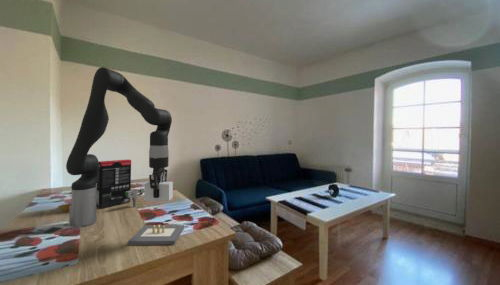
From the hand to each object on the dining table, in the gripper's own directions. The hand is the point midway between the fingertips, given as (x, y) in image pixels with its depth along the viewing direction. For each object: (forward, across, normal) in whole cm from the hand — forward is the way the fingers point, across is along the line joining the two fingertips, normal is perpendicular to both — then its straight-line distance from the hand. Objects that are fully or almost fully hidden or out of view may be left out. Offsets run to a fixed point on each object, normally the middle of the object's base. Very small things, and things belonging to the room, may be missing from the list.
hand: (158, 195), depth 87 cm
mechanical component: (+18, -36, -28) cm, 49 cm away
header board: (+17, 0, 0) cm, 17 cm away
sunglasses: (+18, -34, -61) cm, 72 cm away
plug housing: (+2, 0, 0) cm, 2 cm away
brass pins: (+16, 0, 0) cm, 16 cm away
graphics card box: (+18, -40, -42) cm, 61 cm away
